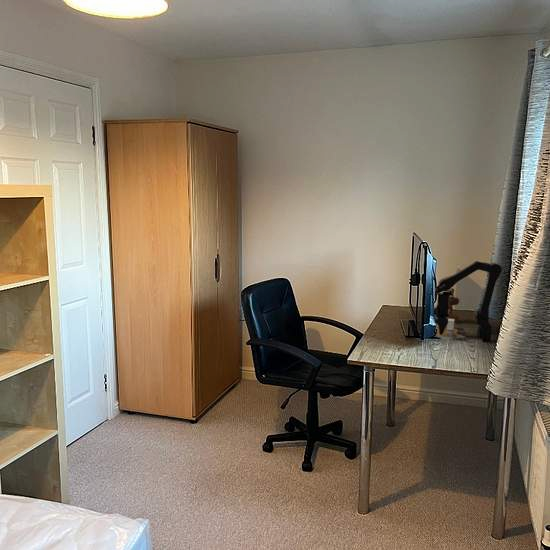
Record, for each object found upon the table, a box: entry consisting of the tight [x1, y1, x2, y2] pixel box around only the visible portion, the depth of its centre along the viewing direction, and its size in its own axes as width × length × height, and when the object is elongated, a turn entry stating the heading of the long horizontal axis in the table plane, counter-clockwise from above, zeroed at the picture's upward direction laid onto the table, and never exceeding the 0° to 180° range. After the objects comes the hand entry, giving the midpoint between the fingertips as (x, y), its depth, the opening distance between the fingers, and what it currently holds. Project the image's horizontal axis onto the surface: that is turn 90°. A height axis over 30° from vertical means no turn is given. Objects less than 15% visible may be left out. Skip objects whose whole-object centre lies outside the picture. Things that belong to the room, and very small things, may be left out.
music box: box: [446, 287, 460, 325], centre depth 324 cm, size 15×11×20 cm
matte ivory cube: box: [447, 319, 455, 331], centre depth 302 cm, size 5×5×6 cm
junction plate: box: [435, 328, 466, 340], centre depth 288 cm, size 14×14×5 cm
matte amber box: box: [435, 322, 448, 336], centre depth 288 cm, size 5×5×6 cm
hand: (441, 333), depth 288 cm, fingers open, 6 cm apart
